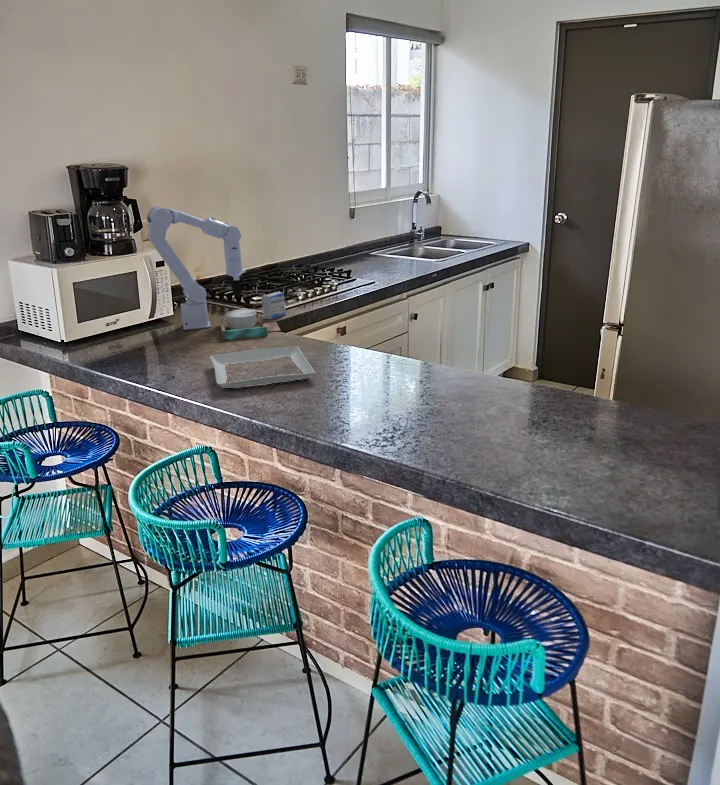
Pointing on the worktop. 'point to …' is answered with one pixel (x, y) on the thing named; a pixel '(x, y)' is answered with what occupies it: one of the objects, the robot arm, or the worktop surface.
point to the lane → (249, 330)
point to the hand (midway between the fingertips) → (237, 296)
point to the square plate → (260, 355)
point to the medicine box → (273, 305)
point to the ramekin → (241, 319)
